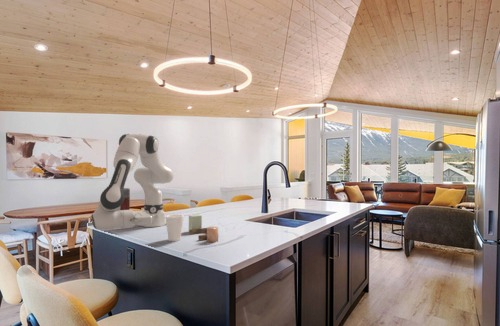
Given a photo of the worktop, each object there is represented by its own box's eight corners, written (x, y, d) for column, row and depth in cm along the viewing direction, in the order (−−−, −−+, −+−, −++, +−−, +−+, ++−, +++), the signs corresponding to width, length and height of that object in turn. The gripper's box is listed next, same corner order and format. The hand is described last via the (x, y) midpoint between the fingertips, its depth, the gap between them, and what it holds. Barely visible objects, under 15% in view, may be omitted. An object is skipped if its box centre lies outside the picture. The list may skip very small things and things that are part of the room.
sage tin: (188, 231, 170) (188, 215, 171) (197, 230, 174) (198, 214, 174) (191, 233, 165) (192, 216, 165) (201, 232, 168) (201, 215, 169)
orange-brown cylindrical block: (206, 239, 151) (206, 227, 151) (217, 239, 153) (217, 226, 153) (207, 242, 145) (207, 229, 146) (219, 242, 147) (219, 228, 147)
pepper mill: (117, 218, 209) (118, 181, 209) (129, 219, 205) (130, 181, 205) (108, 221, 201) (108, 182, 201) (120, 222, 197) (120, 182, 197)
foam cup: (178, 242, 145) (178, 217, 146) (162, 241, 147) (162, 216, 147) (186, 238, 155) (186, 214, 155) (170, 237, 157) (171, 213, 157)
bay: (199, 240, 150) (199, 235, 150) (189, 234, 164) (189, 229, 164) (218, 237, 155) (218, 233, 155) (206, 231, 169) (207, 227, 169)
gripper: (132, 215, 130) (162, 213, 137) (126, 209, 148) (153, 207, 155) (132, 228, 130) (162, 225, 137) (126, 221, 148) (153, 219, 155)
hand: (157, 216), depth 146 cm, fingers closed
